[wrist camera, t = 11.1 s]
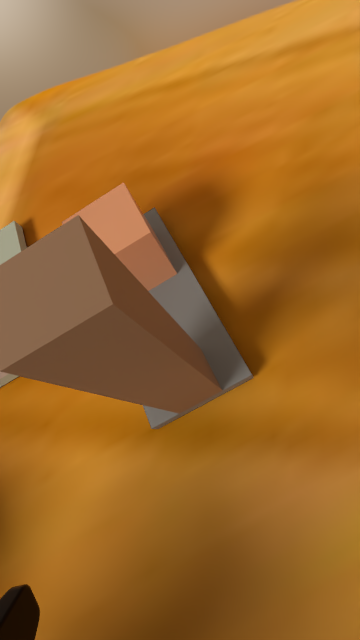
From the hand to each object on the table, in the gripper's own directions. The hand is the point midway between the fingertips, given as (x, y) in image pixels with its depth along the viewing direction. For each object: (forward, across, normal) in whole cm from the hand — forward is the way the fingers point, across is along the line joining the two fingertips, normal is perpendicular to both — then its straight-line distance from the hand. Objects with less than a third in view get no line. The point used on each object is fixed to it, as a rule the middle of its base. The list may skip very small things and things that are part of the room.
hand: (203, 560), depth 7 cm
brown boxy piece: (+16, +1, -4) cm, 17 cm away
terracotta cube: (+18, +2, -7) cm, 19 cm away
